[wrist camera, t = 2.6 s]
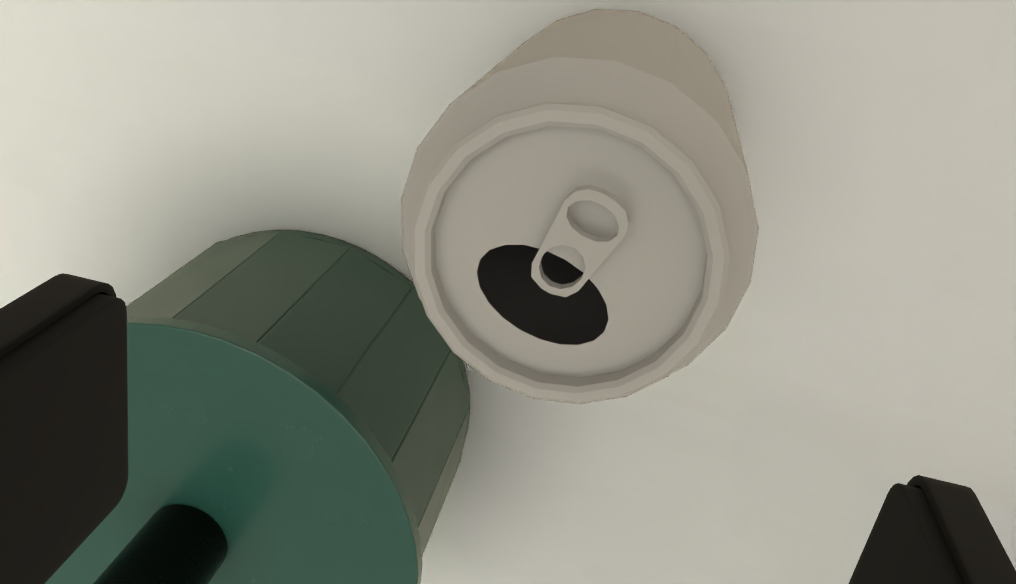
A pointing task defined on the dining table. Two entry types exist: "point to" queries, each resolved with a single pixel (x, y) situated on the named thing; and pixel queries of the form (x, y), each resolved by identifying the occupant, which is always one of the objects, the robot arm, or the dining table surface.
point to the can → (583, 211)
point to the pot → (338, 341)
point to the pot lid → (244, 474)
